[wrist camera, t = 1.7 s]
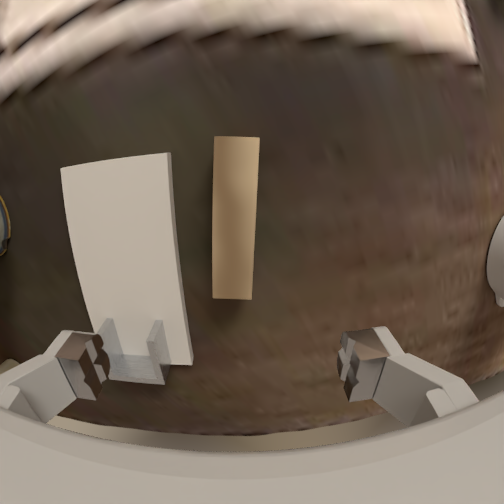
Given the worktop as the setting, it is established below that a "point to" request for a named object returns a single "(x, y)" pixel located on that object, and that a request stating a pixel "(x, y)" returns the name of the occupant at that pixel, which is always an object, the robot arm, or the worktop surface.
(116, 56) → the worktop surface
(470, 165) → the worktop surface
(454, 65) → the worktop surface
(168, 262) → the bracket
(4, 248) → the apothecary jar
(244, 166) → the rail
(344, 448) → the robot arm
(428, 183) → the worktop surface
